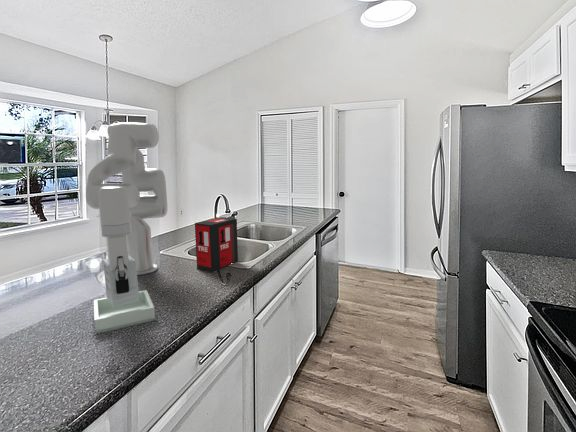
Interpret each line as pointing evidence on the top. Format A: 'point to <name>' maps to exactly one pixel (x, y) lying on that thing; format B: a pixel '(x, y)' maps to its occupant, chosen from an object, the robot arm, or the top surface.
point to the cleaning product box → (216, 243)
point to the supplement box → (111, 284)
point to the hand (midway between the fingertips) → (121, 287)
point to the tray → (123, 313)
